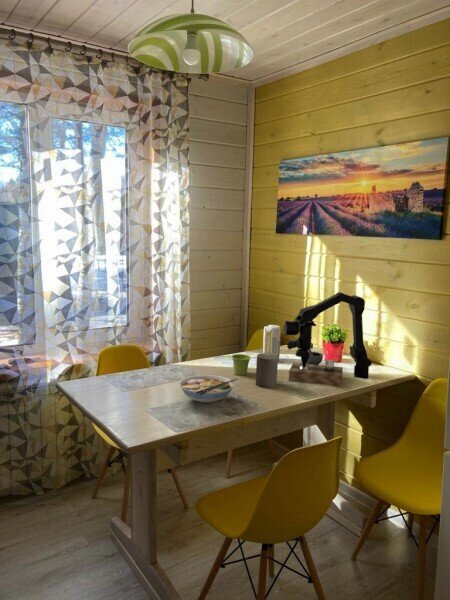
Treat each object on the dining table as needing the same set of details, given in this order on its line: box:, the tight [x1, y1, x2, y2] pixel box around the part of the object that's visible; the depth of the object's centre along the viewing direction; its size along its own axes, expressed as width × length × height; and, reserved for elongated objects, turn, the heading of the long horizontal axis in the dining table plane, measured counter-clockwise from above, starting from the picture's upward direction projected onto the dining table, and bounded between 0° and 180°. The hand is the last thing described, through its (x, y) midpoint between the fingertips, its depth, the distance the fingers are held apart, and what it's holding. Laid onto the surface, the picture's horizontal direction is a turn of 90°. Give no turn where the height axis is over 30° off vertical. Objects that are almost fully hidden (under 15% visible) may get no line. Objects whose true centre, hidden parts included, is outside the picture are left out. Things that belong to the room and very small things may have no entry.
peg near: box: [324, 359, 335, 372], centre depth 239 cm, size 4×4×5 cm
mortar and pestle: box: [307, 349, 324, 365], centre depth 260 cm, size 11×9×12 cm
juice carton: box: [262, 324, 282, 361], centre depth 269 cm, size 8×9×19 cm
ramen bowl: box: [178, 374, 238, 404], centre depth 209 cm, size 25×23×8 cm
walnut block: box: [288, 362, 344, 387], centre depth 241 cm, size 24×14×5 cm, turn 75°
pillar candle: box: [255, 352, 279, 389], centre depth 230 cm, size 10×10×15 cm
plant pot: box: [231, 353, 252, 377], centre depth 246 cm, size 9×9×9 cm
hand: (303, 366), depth 242 cm, fingers closed, pressing on peg far
